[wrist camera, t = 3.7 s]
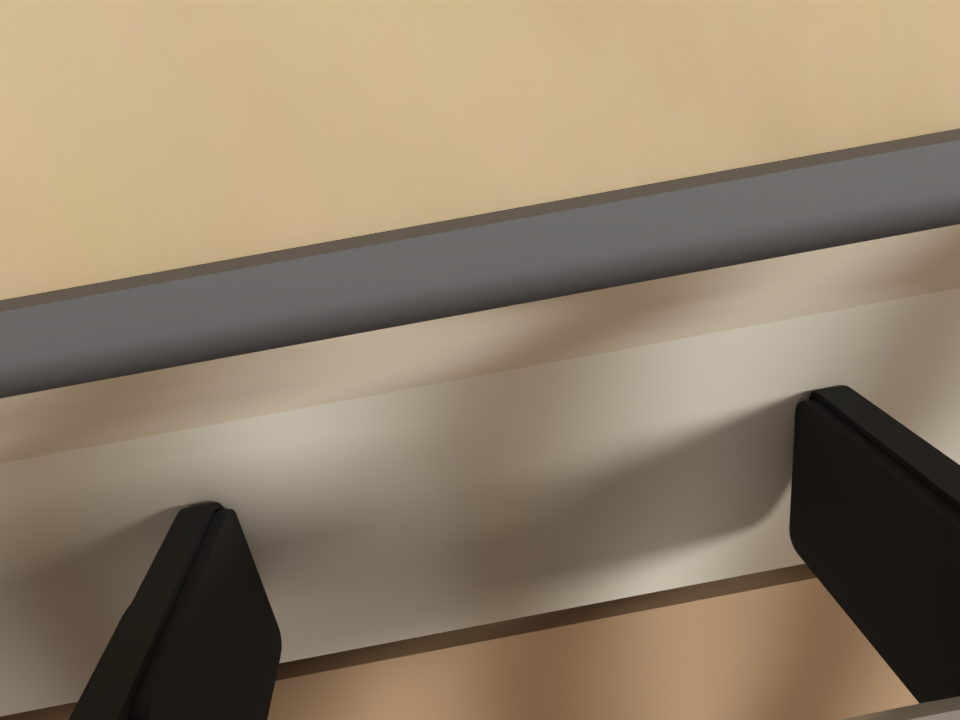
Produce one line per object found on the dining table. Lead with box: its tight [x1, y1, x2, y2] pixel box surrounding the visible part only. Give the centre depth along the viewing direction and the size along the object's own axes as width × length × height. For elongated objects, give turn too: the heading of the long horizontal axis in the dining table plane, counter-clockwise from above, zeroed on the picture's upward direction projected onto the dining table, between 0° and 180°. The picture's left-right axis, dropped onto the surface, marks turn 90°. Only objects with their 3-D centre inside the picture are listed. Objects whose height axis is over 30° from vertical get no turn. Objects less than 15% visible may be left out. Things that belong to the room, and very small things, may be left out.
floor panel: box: [0, 129, 960, 720], centre depth 16 cm, size 27×22×2 cm
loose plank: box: [0, 224, 960, 716], centre depth 12 cm, size 26×7×2 cm, turn 99°
